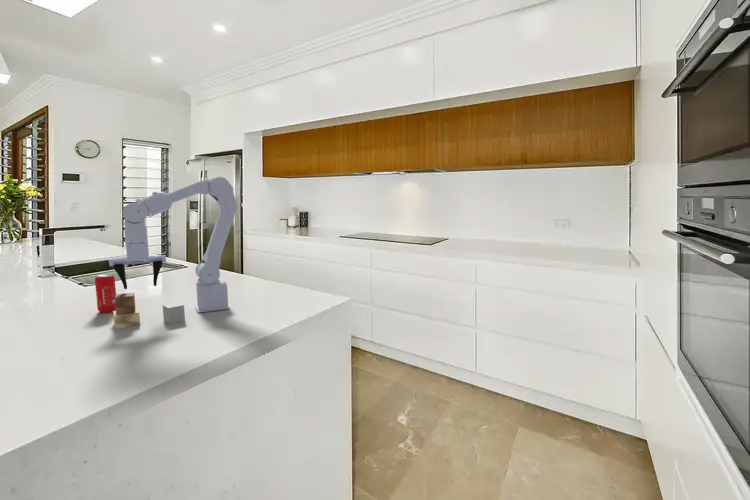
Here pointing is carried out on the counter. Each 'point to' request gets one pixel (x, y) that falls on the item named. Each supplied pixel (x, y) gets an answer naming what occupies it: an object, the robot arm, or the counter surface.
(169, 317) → the grey block
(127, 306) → the walnut block
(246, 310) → the counter surface
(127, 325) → the maple base
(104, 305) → the beverage can
